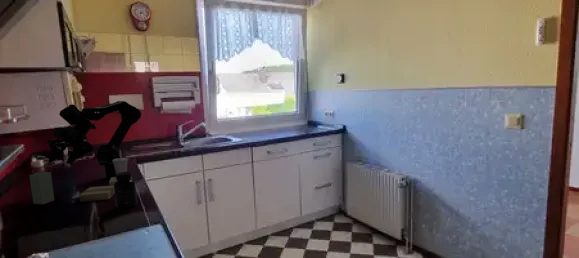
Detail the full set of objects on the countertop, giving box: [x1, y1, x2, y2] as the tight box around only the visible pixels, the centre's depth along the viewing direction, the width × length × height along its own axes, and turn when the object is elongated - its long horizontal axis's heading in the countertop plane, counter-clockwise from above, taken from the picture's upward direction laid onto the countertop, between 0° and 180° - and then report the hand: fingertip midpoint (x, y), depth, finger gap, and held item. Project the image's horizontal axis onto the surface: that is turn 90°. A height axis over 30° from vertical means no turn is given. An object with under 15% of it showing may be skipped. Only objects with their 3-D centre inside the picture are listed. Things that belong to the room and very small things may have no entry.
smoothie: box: [112, 149, 129, 174], centre depth 152 cm, size 6×6×14 cm
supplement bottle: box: [114, 171, 138, 210], centre depth 117 cm, size 7×7×12 cm
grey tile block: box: [108, 175, 133, 186], centre depth 142 cm, size 8×8×4 cm
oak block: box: [78, 185, 115, 203], centre depth 130 cm, size 10×10×3 cm
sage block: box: [28, 171, 55, 205], centre depth 125 cm, size 5×5×11 cm
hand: (58, 163), depth 131 cm, fingers open, 9 cm apart
